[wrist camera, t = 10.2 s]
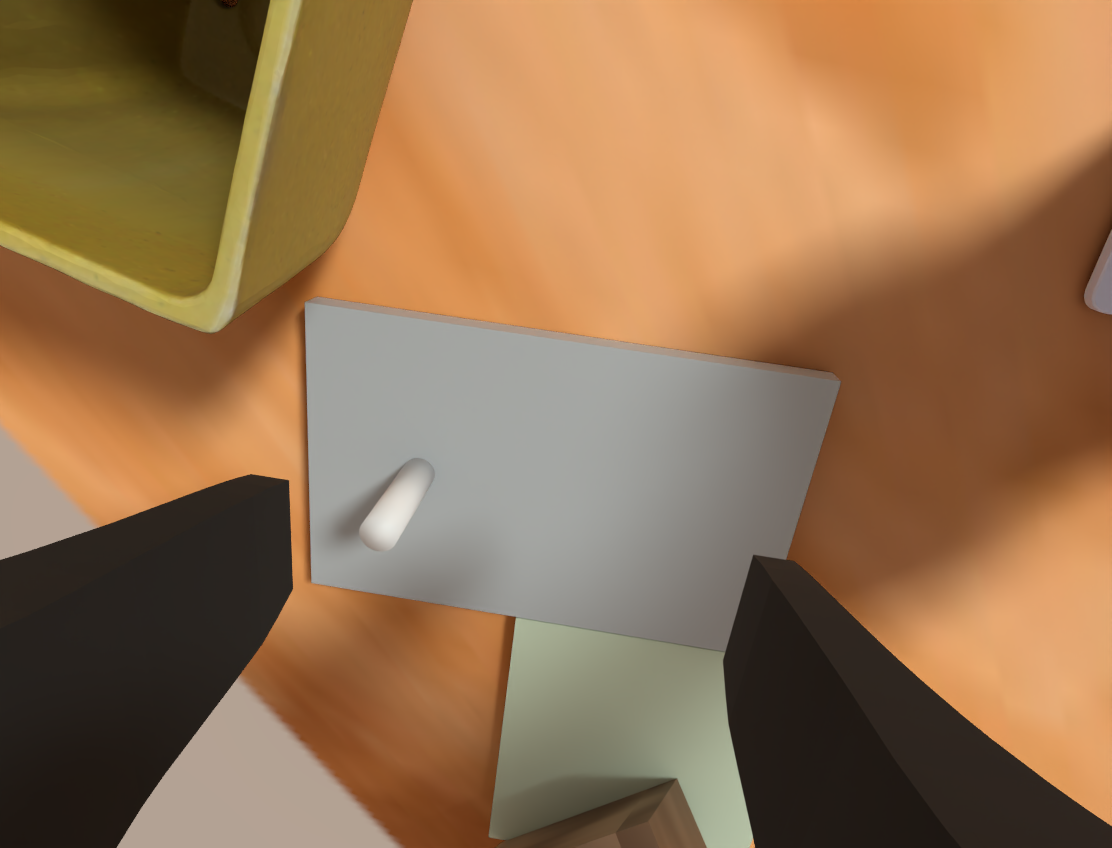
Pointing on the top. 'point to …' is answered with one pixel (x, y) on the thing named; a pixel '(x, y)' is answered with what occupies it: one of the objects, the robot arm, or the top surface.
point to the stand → (551, 469)
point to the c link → (623, 824)
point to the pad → (613, 730)
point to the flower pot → (187, 141)
